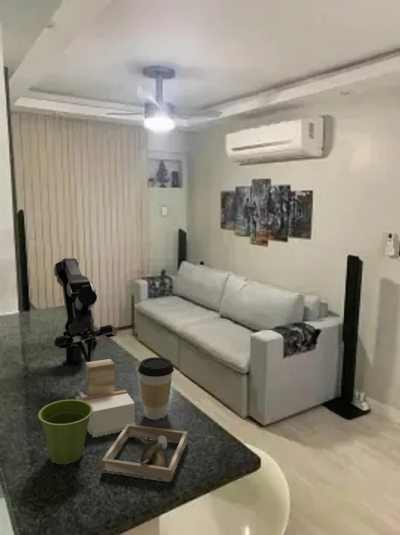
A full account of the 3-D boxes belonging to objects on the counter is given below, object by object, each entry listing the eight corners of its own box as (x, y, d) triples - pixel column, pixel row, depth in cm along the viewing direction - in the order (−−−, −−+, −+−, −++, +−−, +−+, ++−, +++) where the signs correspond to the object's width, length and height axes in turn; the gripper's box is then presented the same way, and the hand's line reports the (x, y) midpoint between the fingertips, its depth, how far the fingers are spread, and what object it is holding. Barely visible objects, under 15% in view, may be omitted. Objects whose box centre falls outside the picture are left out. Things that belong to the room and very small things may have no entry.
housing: (73, 400, 125) (73, 380, 124) (113, 393, 130) (113, 373, 129) (91, 438, 105) (90, 414, 104) (137, 428, 110) (137, 405, 109)
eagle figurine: (129, 452, 98) (132, 468, 89) (145, 424, 99) (150, 438, 90) (156, 467, 99) (162, 484, 90) (172, 439, 100) (179, 454, 92)
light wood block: (86, 401, 121) (85, 361, 119) (110, 397, 124) (109, 358, 122) (89, 408, 117) (89, 367, 115) (114, 403, 120) (114, 363, 118)
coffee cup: (178, 409, 121) (179, 359, 119) (164, 425, 112) (165, 372, 110) (147, 403, 124) (147, 354, 122) (131, 418, 115) (131, 366, 113)
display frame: (127, 435, 107) (127, 424, 106) (187, 443, 104) (187, 431, 104) (101, 472, 92) (101, 460, 91) (170, 483, 89) (171, 470, 88)
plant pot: (64, 479, 89) (62, 430, 88) (28, 460, 95) (26, 414, 94) (104, 452, 99) (103, 408, 97) (69, 437, 105) (68, 394, 104)
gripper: (44, 317, 129) (49, 367, 124) (103, 303, 129) (111, 353, 124) (58, 324, 140) (64, 371, 134) (113, 311, 140) (120, 357, 135)
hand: (89, 363), depth 132 cm, fingers closed
